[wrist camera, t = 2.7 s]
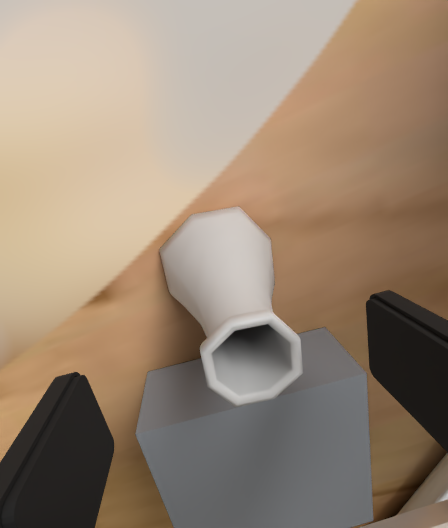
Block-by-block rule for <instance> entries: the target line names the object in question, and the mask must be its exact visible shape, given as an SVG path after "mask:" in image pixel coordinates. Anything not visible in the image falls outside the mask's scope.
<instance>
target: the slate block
mask: <svg viewBox="0 0 448 528" xmlns="http://www.w3.org/2000/svg"><path fill="white" fill-rule="evenodd" d="M297 335H298V336H299V338H300V339H301V352H302V366H303V374H302V375H301V376H299V377H298V378H297V379H296V380H295V381H294V382H293V383H292V384H290V385H289V386H288V387H287V388H286V389H285V390H284V391H283V392H281V393H280V394H279V395H278V396H277V397H276V398H275V399H271V400H267V401H262V402H258V403H253V404H249V405H244V406H240V407H235V406H234V405H232V404H231V403H230V402H228V401H227V400H225V399H224V398H222V397H221V396H220V395H218V394H217V393H215V392H214V391H212V390H211V389H210V388H208V386H207V382H206V377H205V372H204V368H203V363H202V358H201V359H197V360H193V361H189V362H185V363H181V364H177V365H173V366H169V367H165V368H161V369H157V370H153V371H149V372H148V373H147V378H146V383H145V388H144V393H143V399H142V404H141V409H140V414H139V419H138V424H137V429H136V434H135V435H136V437H137V440H138V442H139V444H140V447H141V449H142V452H143V454H144V457H145V459H146V461H147V464H148V466H149V469H150V471H151V473H152V476H153V478H154V481H155V483H156V486H157V488H158V490H159V493H160V495H161V498H162V500H163V503H164V505H165V507H166V510H167V512H168V515H169V517H170V519H171V522H172V524H173V527H174V528H350V527H354V526H357V525H361V524H364V523H367V522H371V521H373V502H372V480H371V458H370V436H369V414H368V392H367V373H366V372H365V371H364V370H363V369H362V368H361V366H360V365H359V364H358V363H357V362H356V361H355V360H354V359H353V358H352V356H351V355H350V354H349V353H348V352H347V351H346V350H345V349H344V348H343V346H342V345H341V344H340V343H339V342H338V341H337V340H336V339H335V338H334V336H333V335H332V334H331V333H330V332H329V331H328V330H327V329H326V328H325V327H323V328H319V329H315V330H311V331H307V332H303V333H299V334H297Z"/></svg>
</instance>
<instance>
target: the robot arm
mask: <svg viewBox="0 0 448 528" xmlns="http://www.w3.org/2000/svg"><path fill="white" fill-rule="evenodd" d="M366 313H367V331H368V349H369V366H370V370H371V373H372V374H373V376H374V377H375V378H376V379H377V381H378V382H379V383H380V384H381V385H382V386H383V387H384V388H385V389H386V390H387V391H388V392H389V393H390V394H391V395H392V396H393V397H394V398H395V399H396V400H397V401H398V402H399V403H400V404H401V405H402V406H403V407H404V408H405V409H406V410H407V411H408V412H409V413H410V414H411V415H412V416H413V417H414V418H415V419H416V420H417V421H418V422H419V423H420V425H421V426H422V427H423V428H424V429H425V430H426V431H427V432H428V433H429V434H430V435H431V436H432V437H433V438H434V439H435V440H436V441H437V442H438V443H439V444H440V445H441V446H442V447H443V448H444V449H445V450H446V451H447V452H448V321H447V320H446V319H444V318H442V317H440V316H438V315H436V314H434V313H432V312H430V311H429V310H427V309H425V308H423V307H421V306H419V305H417V304H415V303H413V302H411V301H410V300H408V299H406V298H404V297H402V296H400V295H398V294H396V293H394V292H392V291H390V290H389V291H384V292H380V293H376V294H372V295H371V296H370V300H368V301H367V302H366ZM113 453H114V440H113V437H112V435H111V433H110V430H109V428H108V426H107V423H106V421H105V419H104V417H103V414H102V412H101V410H100V407H99V405H98V403H97V400H96V398H95V396H94V393H93V391H92V389H91V387H90V384H89V382H88V380H87V378H86V376H85V375H80V374H79V373H78V372H74V373H70V374H66V375H62V376H58V377H56V378H55V379H54V380H53V382H52V383H51V385H50V386H49V388H48V389H47V391H46V393H45V394H44V396H43V397H42V399H41V400H40V402H39V403H38V405H37V406H36V408H35V410H34V411H33V413H32V414H31V416H30V417H29V419H28V420H27V422H26V423H25V425H24V427H23V428H22V430H21V431H20V433H19V434H18V436H17V437H16V439H15V440H14V442H13V444H12V445H11V447H10V448H9V450H8V451H7V453H6V454H5V456H4V458H3V459H2V461H1V462H0V528H95V524H96V520H97V516H98V512H99V508H100V504H101V500H102V496H103V493H104V489H105V485H106V481H107V477H108V473H109V469H110V465H111V461H112V457H113ZM359 528H448V499H447V500H444V501H441V502H438V503H434V504H431V505H428V506H425V507H422V508H419V509H416V510H412V511H409V512H406V513H403V514H400V515H397V516H394V517H390V518H387V519H384V520H381V521H378V522H375V523H372V524H369V525H365V526H362V527H359Z"/></svg>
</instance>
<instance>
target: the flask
mask: <svg viewBox="0 0 448 528" xmlns="http://www.w3.org/2000/svg"><path fill="white" fill-rule="evenodd" d="M159 251H160V255H161V260H162V264H163V268H164V272H165V277H166V281H167V285H168V289H169V293H170V294H171V295H172V296H173V297H174V298H175V299H177V300H178V301H179V302H180V303H181V304H182V305H183V306H184V307H185V308H186V309H187V310H188V311H189V312H190V313H191V314H192V315H193V316H194V318H195V319H196V320H197V321H198V322H199V323H200V324H201V326H202V328H203V330H204V332H205V334H206V337H207V339H206V340H205V341H204V342H203V343H202V344H201V346H200V354H201V358H202V363H203V368H204V372H205V377H206V382H207V386H208V388H210V389H211V390H212V391H214V392H215V393H217V394H218V395H220V396H221V397H222V398H224V399H225V400H227V401H228V402H230V403H231V404H232V405H234V406H235V407H240V406H244V405H249V404H253V403H258V402H262V401H267V400H271V399H275V398H276V397H277V396H278V395H279V394H280V393H281V392H283V391H284V390H285V389H286V388H287V387H288V386H289V385H290V384H292V383H293V382H294V381H295V380H296V379H297V378H298V377H299V376H301V375H302V374H303V366H302V352H301V339H300V338H299V336H298V335H297V334H296V333H295V332H294V331H293V330H292V329H291V328H290V327H288V326H287V325H286V324H285V323H284V322H283V321H282V320H281V319H279V318H278V317H277V316H276V315H275V314H274V313H273V310H272V305H271V304H272V295H273V290H274V285H275V277H274V267H273V257H272V247H271V238H270V237H269V236H268V235H267V234H266V233H265V232H264V231H263V230H262V229H261V228H260V227H259V226H258V225H257V224H256V223H255V222H254V221H253V220H252V219H251V218H250V217H249V216H248V215H247V214H246V213H245V212H244V211H243V210H242V209H241V208H240V207H239V206H238V207H232V208H227V209H221V210H215V211H209V212H203V213H197V214H192V215H190V216H189V218H188V219H187V220H186V221H185V222H184V223H183V224H182V225H181V226H180V227H179V228H178V229H177V230H176V232H175V233H174V234H173V235H172V236H171V237H170V238H169V239H168V240H167V241H166V242H165V243H164V244H163V246H162V247H161V248H160V249H159Z"/></svg>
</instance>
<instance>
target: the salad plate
mask: <svg viewBox="0 0 448 528" xmlns="http://www.w3.org/2000/svg"><path fill="white" fill-rule="evenodd" d="M447 499H448V453H447V454H446V455H445V456H444V457H443V459H442V460H441V461H440V462H439V463H438V464H437V466H436V467H435V468H434V469H433V471H432V472H431V473H430V474H429V475H428V477H427V478H426V479H425V480H424V482H423V483H422V484H421V485H420V486H419V488H418V489H417V490H416V491H415V493H414V494H413V495H412V496H411V498H410V499H409V500H408V501H407V502H406V504H405V505H404V506H403V508H402V509H401V510H400V511H399V513H398V514H397V515H400V514H403V513H406V512H409V511H412V510H416V509H419V508H422V507H425V506H428V505H431V504H434V503H438V502H441V501H444V500H447ZM397 515H396V516H397Z"/></svg>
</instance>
